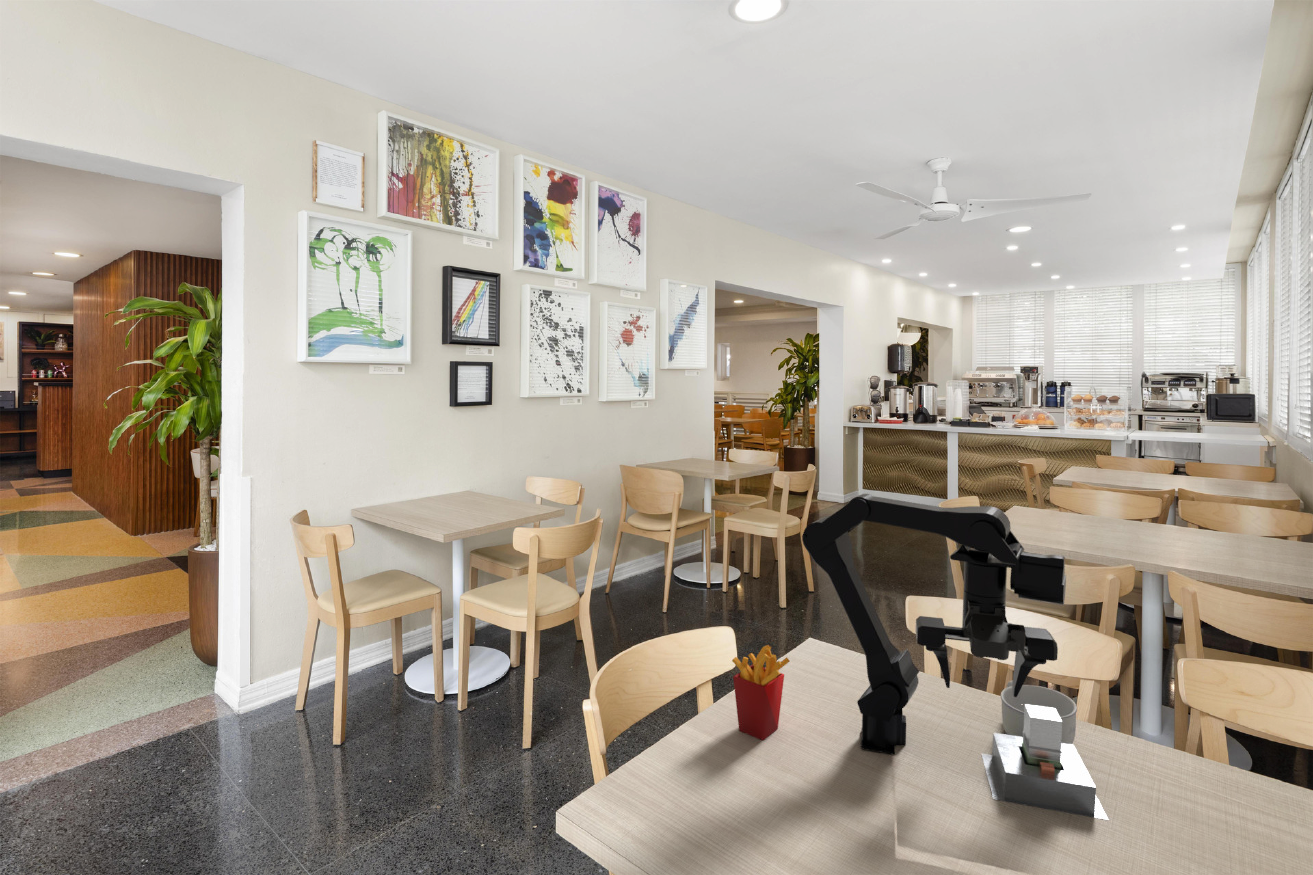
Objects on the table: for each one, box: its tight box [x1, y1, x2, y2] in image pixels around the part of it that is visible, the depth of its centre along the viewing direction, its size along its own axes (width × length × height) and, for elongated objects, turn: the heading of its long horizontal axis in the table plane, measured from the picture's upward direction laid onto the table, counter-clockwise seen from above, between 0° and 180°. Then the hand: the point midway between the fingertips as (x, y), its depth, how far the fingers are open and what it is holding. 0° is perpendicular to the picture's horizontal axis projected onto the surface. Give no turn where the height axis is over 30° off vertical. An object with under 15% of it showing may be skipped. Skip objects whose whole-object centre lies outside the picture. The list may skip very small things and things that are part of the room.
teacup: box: [1000, 680, 1078, 745], centre depth 109 cm, size 14×11×8 cm
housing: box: [980, 732, 1109, 821], centre depth 96 cm, size 14×12×6 cm
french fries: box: [731, 644, 790, 741], centre depth 112 cm, size 9×8×15 cm
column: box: [1022, 704, 1062, 769], centre depth 95 cm, size 4×4×7 cm
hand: (980, 691), depth 99 cm, fingers open, 9 cm apart
